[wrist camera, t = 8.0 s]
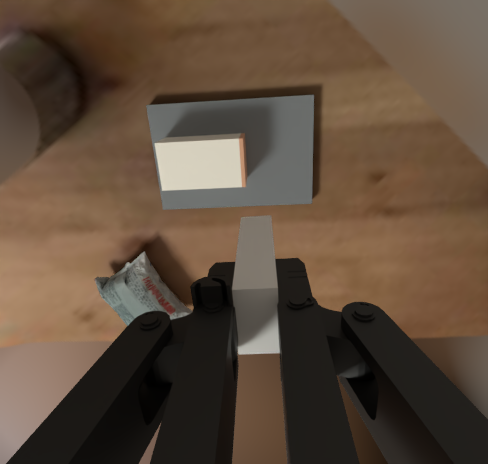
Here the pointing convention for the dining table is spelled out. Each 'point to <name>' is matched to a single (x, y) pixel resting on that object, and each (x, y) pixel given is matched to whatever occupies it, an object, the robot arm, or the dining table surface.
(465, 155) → the dining table surface
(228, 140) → the block
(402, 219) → the dining table surface
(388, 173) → the dining table surface
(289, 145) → the board
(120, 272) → the packaged food
